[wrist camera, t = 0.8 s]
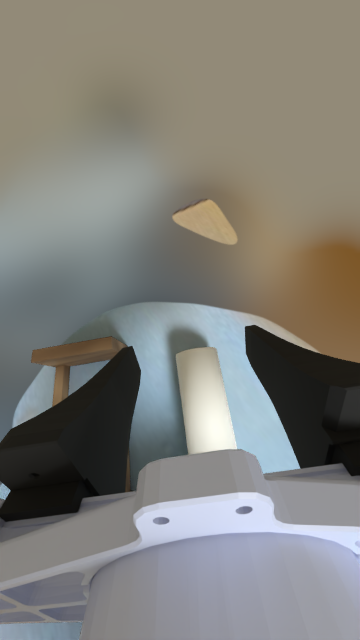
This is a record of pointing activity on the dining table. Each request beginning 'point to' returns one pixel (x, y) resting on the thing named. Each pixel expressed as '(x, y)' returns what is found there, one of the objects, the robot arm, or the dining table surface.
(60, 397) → the holder
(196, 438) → the cylinder
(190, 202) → the dining table surface
